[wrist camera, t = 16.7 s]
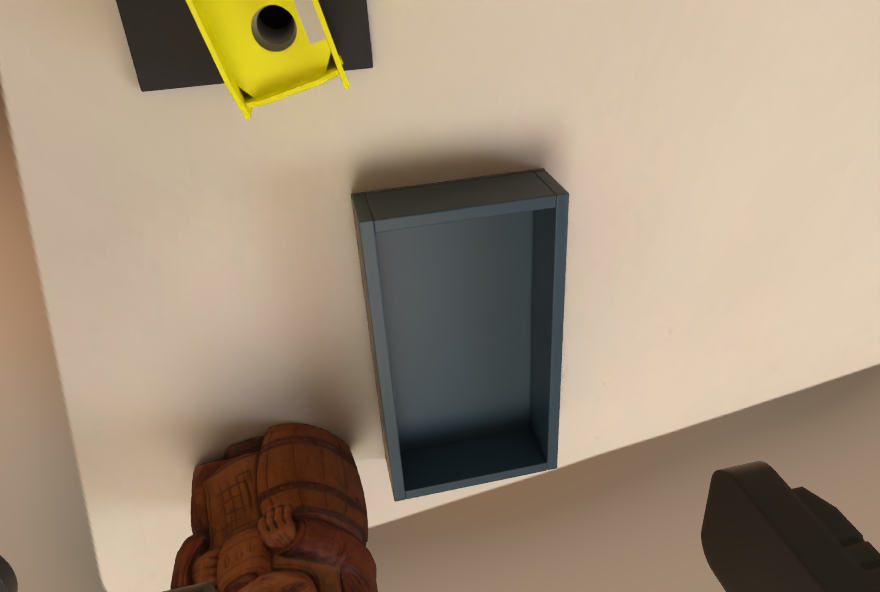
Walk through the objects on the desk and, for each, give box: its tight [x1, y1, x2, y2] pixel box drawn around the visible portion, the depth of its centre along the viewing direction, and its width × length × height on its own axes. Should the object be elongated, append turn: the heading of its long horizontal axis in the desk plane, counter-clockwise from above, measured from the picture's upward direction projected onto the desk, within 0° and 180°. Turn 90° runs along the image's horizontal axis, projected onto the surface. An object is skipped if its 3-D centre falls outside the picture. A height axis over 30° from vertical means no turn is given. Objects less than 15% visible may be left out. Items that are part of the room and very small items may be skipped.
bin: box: [351, 168, 569, 501], centre depth 45 cm, size 12×22×4 cm, turn 3°
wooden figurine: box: [171, 424, 378, 592], centre depth 42 cm, size 12×6×18 cm, turn 108°
